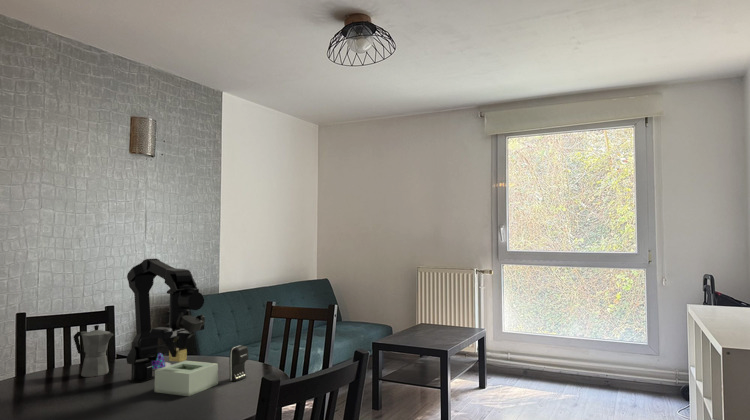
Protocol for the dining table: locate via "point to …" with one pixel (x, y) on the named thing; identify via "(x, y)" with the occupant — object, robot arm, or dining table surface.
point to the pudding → (159, 362)
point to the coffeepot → (94, 351)
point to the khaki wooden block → (179, 355)
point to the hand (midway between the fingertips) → (177, 355)
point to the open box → (186, 378)
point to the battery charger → (238, 362)
